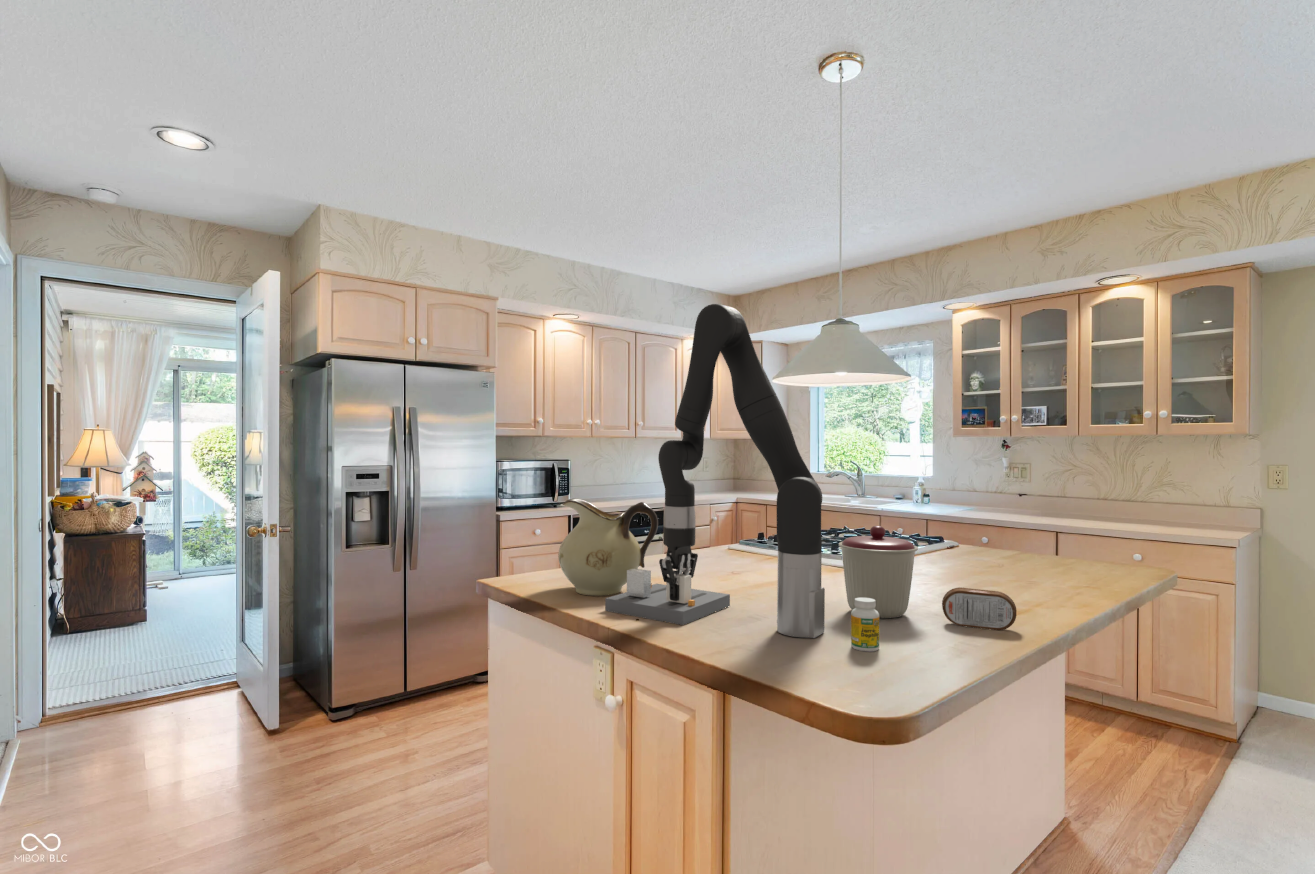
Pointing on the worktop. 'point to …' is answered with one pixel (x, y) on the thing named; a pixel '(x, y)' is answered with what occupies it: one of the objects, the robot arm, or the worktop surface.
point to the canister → (879, 571)
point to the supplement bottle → (865, 625)
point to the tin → (979, 608)
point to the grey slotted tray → (668, 605)
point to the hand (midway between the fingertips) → (678, 598)
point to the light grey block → (639, 582)
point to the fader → (681, 589)
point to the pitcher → (602, 548)
